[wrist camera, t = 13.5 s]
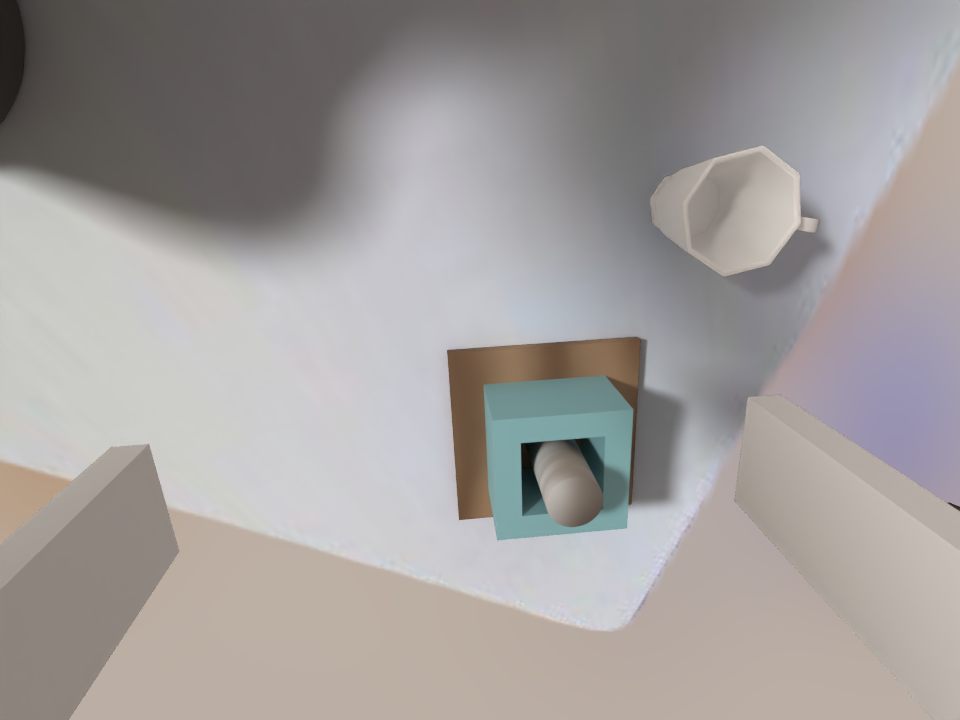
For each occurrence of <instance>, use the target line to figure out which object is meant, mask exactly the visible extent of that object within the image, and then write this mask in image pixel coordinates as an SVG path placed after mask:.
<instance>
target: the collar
mask: <svg viewBox="0 0 960 720" xmlns="http://www.w3.org/2000/svg"><path fill="white" fill-rule="evenodd" d="M484 403H485V425H486V447H487V468H488V490H489V496H490V502H491V508H492V513H493V519H494V525H495V530H496V536H497V540H505V539H516V538H527V537H537V536H548V535H559V534H570V533H581V532H592V531H602V530H613V529H624V528H627V518H628V500H629V481H630V463H631V445H632V427H633V408H632V407H631V406H630V405H629V404H628V402H627V401H626V400H625V399H624V398H623V396H622V395H621V394H620V393H619V392H618V390H617V389H616V388H615V387H614V386H613V384H612V383H611V382H610V381H609V380H608V378H607V377H606V376H591V377H578V378H564V379H551V380H537V381H523V382H510V383H496V384H484ZM579 438H581V441H580V451H581V452H582V454H583V456H584V458H585V460H586V462H587V464H588V466H589V468H590V470H591V471H592V473H593V475H594V477H595V479H596V481H597V483H598V485H599V487H600V489H601V490H602V493H603V498H604V501H603V506H602V509H601V511H600V513H599V514H598V515H597V516H596V517H595V518H594V519H593V520H592V521H590V522H589V523H587V524H585V525H582V526H578V527H566V526H562V525H560V524H557V523H556V522H555V521H553V520H552V518H551V517H550V516H549V514H548V511H547V508H546V505H545V502H544V500H543V497H542V494H541V491H540V488H539V485H538V482H537V479H536V476H535V473H534V470H533V468H522V469H521V443H530V442H542V441H555V440H567V439H579Z"/></svg>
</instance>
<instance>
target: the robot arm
mask: <svg viewBox="0 0 960 720" xmlns="http://www.w3.org/2000/svg"><path fill="white" fill-rule="evenodd" d="M23 66H24V36H23V28H22V22H21V17H20V13H19V9H18V5H17V2H16V0H0V122H1V121H2V120H3V119H4V117H5V116H6V114H7V113H8V111H9V110H10V108H11V106H12V104H13V102H14V100H15V98H16V95H17V92H18V90H19V86H20V83H21V78H22V73H23ZM734 501H735V502H736V503H737V504H738V505H739V507H740V508H741V509H742V510H743V511H744V512H745V513H746V514H747V515H748V516H749V518H750V519H751V520H752V521H753V522H754V523H755V524H756V525H757V526H758V527H759V529H760V530H761V531H762V532H763V533H764V534H765V535H766V536H767V537H768V539H769V540H770V541H771V542H772V543H773V544H774V545H775V546H776V547H777V548H778V549H779V551H780V552H781V553H782V554H783V555H784V556H785V557H786V558H787V559H788V560H789V561H790V563H791V564H792V565H793V566H794V567H795V568H796V569H797V570H798V572H799V573H800V574H801V575H802V576H803V577H804V578H805V579H806V580H807V581H808V582H809V584H810V585H811V586H812V587H813V588H814V589H815V590H816V591H817V592H818V594H819V595H820V596H821V597H822V598H823V599H824V600H825V601H826V602H827V603H828V604H829V606H830V607H831V608H832V609H833V610H834V611H835V612H836V613H837V615H838V616H839V617H840V618H841V619H842V620H843V621H844V622H845V623H846V624H847V625H848V627H849V628H850V629H851V630H852V631H853V632H854V633H855V634H856V635H857V636H858V638H859V639H860V640H861V641H862V642H863V643H864V644H865V645H866V646H867V648H868V649H869V650H870V651H871V652H872V653H873V654H874V655H875V656H876V657H877V659H878V660H879V661H880V662H881V663H882V664H883V665H884V666H885V667H886V668H887V670H889V672H890V673H891V674H892V675H893V676H894V677H895V678H896V680H897V681H898V682H899V683H900V684H901V685H902V686H903V687H904V688H905V689H906V690H907V692H908V693H909V694H910V695H911V696H912V697H913V698H914V699H915V700H916V701H917V703H918V704H919V705H920V706H921V707H922V708H923V709H924V710H925V711H926V713H927V714H928V715H929V716H930V717H931V718H932V719H933V720H960V507H959V506H956V505H954V504H952V503H946V502H945V501H943V500H941V499H940V498H938V497H937V496H935V495H934V494H932V493H931V492H929V491H928V490H926V489H925V488H923V487H922V486H920V485H918V484H917V483H915V482H914V481H912V480H911V479H909V478H908V477H906V476H905V475H903V474H902V473H900V472H898V471H897V470H895V469H894V468H892V467H891V466H889V465H888V464H886V463H885V462H883V461H882V460H880V459H879V458H877V457H875V456H874V455H872V454H871V453H869V452H868V451H866V450H865V449H863V448H861V447H860V446H859V445H857V444H856V443H854V442H852V441H851V440H849V439H847V438H846V437H845V436H843V435H842V434H840V433H838V432H837V431H836V430H834V429H832V428H831V427H829V426H828V425H826V424H825V423H823V422H822V421H820V420H819V419H817V418H815V417H814V416H813V415H811V414H809V413H808V412H806V411H805V410H803V409H802V408H800V407H799V406H797V405H796V404H794V403H793V402H791V401H790V400H788V399H786V398H785V397H783V396H782V395H768V396H755V397H748V400H747V407H746V415H745V423H744V430H743V438H742V446H741V453H740V461H739V469H738V476H737V484H736V491H735V499H734ZM178 552H179V549H178V545H177V542H176V538H175V535H174V531H173V528H172V524H171V520H170V517H169V513H168V510H167V506H166V503H165V499H164V496H163V492H162V489H161V485H160V481H159V478H158V474H157V471H156V467H155V464H154V460H153V457H152V453H151V450H150V446H149V444H145V445H132V446H119V447H111V448H110V449H109V450H107V451H106V452H105V453H104V454H103V455H102V456H101V457H99V458H98V459H97V460H96V461H95V462H94V463H93V464H91V465H90V466H89V467H88V468H87V469H86V470H85V471H83V472H82V473H81V474H80V475H79V476H78V477H77V478H75V479H74V480H73V481H72V482H71V483H70V484H69V485H67V486H66V487H65V488H64V489H63V490H62V491H61V492H59V493H58V494H57V495H56V496H55V497H54V498H53V499H51V500H50V501H49V502H48V503H47V504H46V505H45V506H44V507H42V508H41V509H40V510H39V511H38V512H37V513H35V514H34V515H33V516H32V517H31V518H30V519H29V520H27V522H25V523H24V524H23V525H22V526H21V527H19V528H18V529H17V530H16V531H15V532H14V533H13V534H11V535H10V536H9V537H8V538H7V539H6V540H5V541H3V542H2V543H1V544H0V720H69V719H70V717H71V715H72V714H73V712H74V711H75V710H76V708H77V706H78V705H79V703H80V702H81V700H82V699H83V697H84V696H85V694H86V693H87V691H88V690H89V688H90V687H91V685H92V684H93V682H94V681H95V679H96V678H97V676H98V674H99V673H100V671H101V670H102V668H103V667H104V665H105V664H106V662H107V661H108V659H109V658H110V656H111V655H112V653H113V652H114V650H115V649H116V647H117V645H118V644H119V642H120V641H121V639H122V638H123V636H124V635H125V633H126V632H127V630H128V629H129V627H130V626H131V624H132V623H133V621H134V620H135V618H136V617H137V615H138V614H139V612H140V610H141V609H142V607H143V606H144V604H145V603H146V601H147V600H148V598H149V597H150V595H151V594H152V592H153V591H154V589H155V588H156V586H157V584H158V583H159V582H160V580H161V578H162V577H163V575H164V574H165V572H166V571H167V569H168V568H169V566H170V565H171V563H172V561H173V560H174V559H175V557H176V556H177V554H178Z"/></svg>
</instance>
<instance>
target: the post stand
mask: <svg viewBox="0 0 960 720" xmlns="http://www.w3.org/2000/svg"><path fill="white" fill-rule="evenodd" d="M640 344H641V340H640V339H639V338H638V337H626V338H612V339H598V340H584V341H569V342H555V343H541V344H527V345H513V346H498V347H484V348H470V349H456V350H447V353H448V367H449V382H450V396H451V410H452V424H453V439H454V453H455V467H456V481H457V496H458V510H459V520H464V519H475V518H486V517H493V513H492V508H491V502H490V496H489V490H488V468H487V447H486V425H485V403H484V384H496V383H510V382H523V381H537V380H551V379H564V378H578V377H591V376H606V377H607V378H608V380H609V381H610V382H611V383H612V384H613V386H614V387H615V388H616V389H617V390H618V392H619V393H620V394H621V395H622V396H623V398H624V399H625V400H626V401H627V402H628V404H629V405H630V406H631V407H632V408H633V427H632V445H631V463H630V481H629V500H628V505H630V504H631V503H632V485H633V468H634V450H635V432H636V414H637V397H638V379H639V361H640ZM580 441H581V438H579V439H567V440H555V441H542V442H530V443H521V469H522V468H533V470H534V473H535V476H536V479H537V482H538V485H539V488H540V491H541V494H542V497H543V500H544V502H545V505H546V508H547V511H548V514H549V516H550V517H551V518H552V520H553V521H555V522H556V523H557V524H560V525H562V526H566V527H578V526H582V525H585V524H587V523H589V522H590V521H592V520H593V519H594V518H595V517H596V516H597V515H598V514H599V513H600V511H601V509H602V506H603V501H604V498H603V493H602V490H601V489H600V487H599V485H598V483H597V481H596V479H595V477H594V475H593V473H592V471H591V470H590V468H589V466H588V464H587V462H586V460H585V458H584V456H583V454H582V452H581V451H580Z"/></svg>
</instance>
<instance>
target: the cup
mask: <svg viewBox="0 0 960 720" xmlns="http://www.w3.org/2000/svg"><path fill="white" fill-rule="evenodd" d="M650 207H651V215H652V223H653V225H655V226H656V227H658V228H659V229H660V230H661V231H662V233H663V234H664V235H665V236H666V237H668V238H669V239H670V240H672V241H673V242H675V243H676V244H677V245H678V246H680V247H681V248H682V249H684V250H685V251H686V252H688V253H689V254H691V255H692V256H694V257H695V258H697V259H698V260H700V261H701V262H703V263H704V264H705V265H707V266H708V267H710V268H711V269H713V270H714V271H716V272H717V273H719V274H720V275H722V276H723V277H725V276H729V275H733V274H737V273H741V272H745V271H748V270H752V269H756V268H760V267H764V266H768V265H770V264H771V263H772V261H773V260H774V259H775V257H776V256H777V255H778V253H779V252H780V251H781V249H782V248H783V247H784V245H785V244H786V243H787V241H788V240H789V239H790V237H791V236H792V235H793V233H794V232H795V231H796V230H800V231H806V232H812V233H815V232H816V229H817V226H818V223H819V220H818V219H812V218H807V217H801V205H800V174H799V173H798V172H797V171H796V170H794V169H793V168H792V167H790V166H789V165H788V164H787V163H785V162H784V161H783V160H781V159H780V158H779V157H778V156H776V155H775V154H774V153H772V152H771V151H770V150H769V149H767V148H766V147H765V146H759V147H755V148H751V149H747V150H743V151H739V152H736V153H732V154H728V155H724V156H720V157H716V158H712V159H709V160H706V161H703V162H701V163H698V164H696V165H692V166H689V167H686V168H683V169H681V170H679V171H678V172H676V173H675V174H673V175H670V176H666V177H664V178H663V180H662V181H661V183H660V184H659V186H658V187H657V189H656V190H655V192H654V193H653V195H652V196H651V198H650Z"/></svg>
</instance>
